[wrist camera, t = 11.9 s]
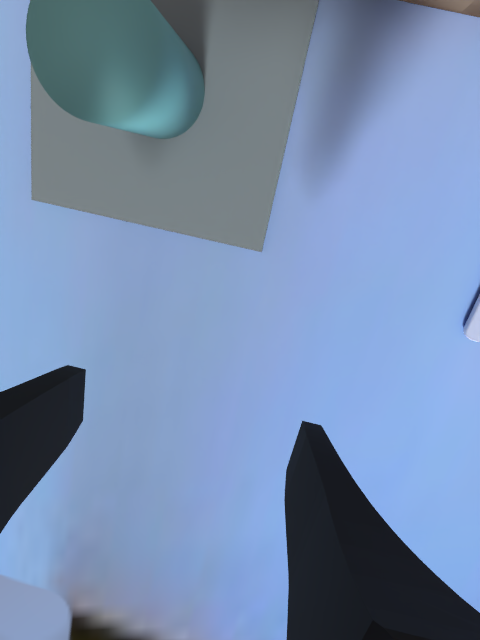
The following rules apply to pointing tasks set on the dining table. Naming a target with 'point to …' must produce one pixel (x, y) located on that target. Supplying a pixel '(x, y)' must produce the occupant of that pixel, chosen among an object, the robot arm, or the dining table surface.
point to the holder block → (452, 5)
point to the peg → (115, 65)
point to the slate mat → (190, 130)
